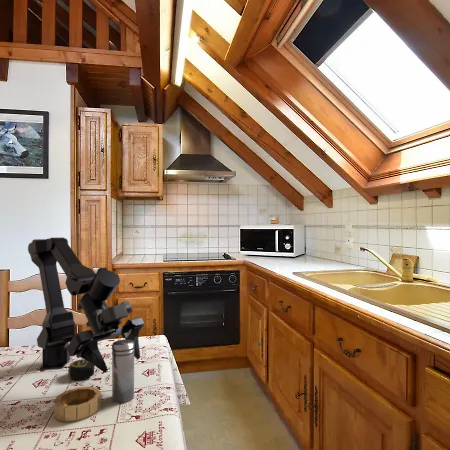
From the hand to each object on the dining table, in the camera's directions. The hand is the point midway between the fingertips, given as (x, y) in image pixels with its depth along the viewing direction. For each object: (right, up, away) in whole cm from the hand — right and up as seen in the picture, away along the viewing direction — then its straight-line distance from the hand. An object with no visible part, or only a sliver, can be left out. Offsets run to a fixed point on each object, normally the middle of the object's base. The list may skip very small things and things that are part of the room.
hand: (123, 364), depth 75 cm
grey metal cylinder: (0, -8, 0) cm, 8 cm away
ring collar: (-8, -8, -5) cm, 13 cm away
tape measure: (-15, -9, +12) cm, 21 cm away
